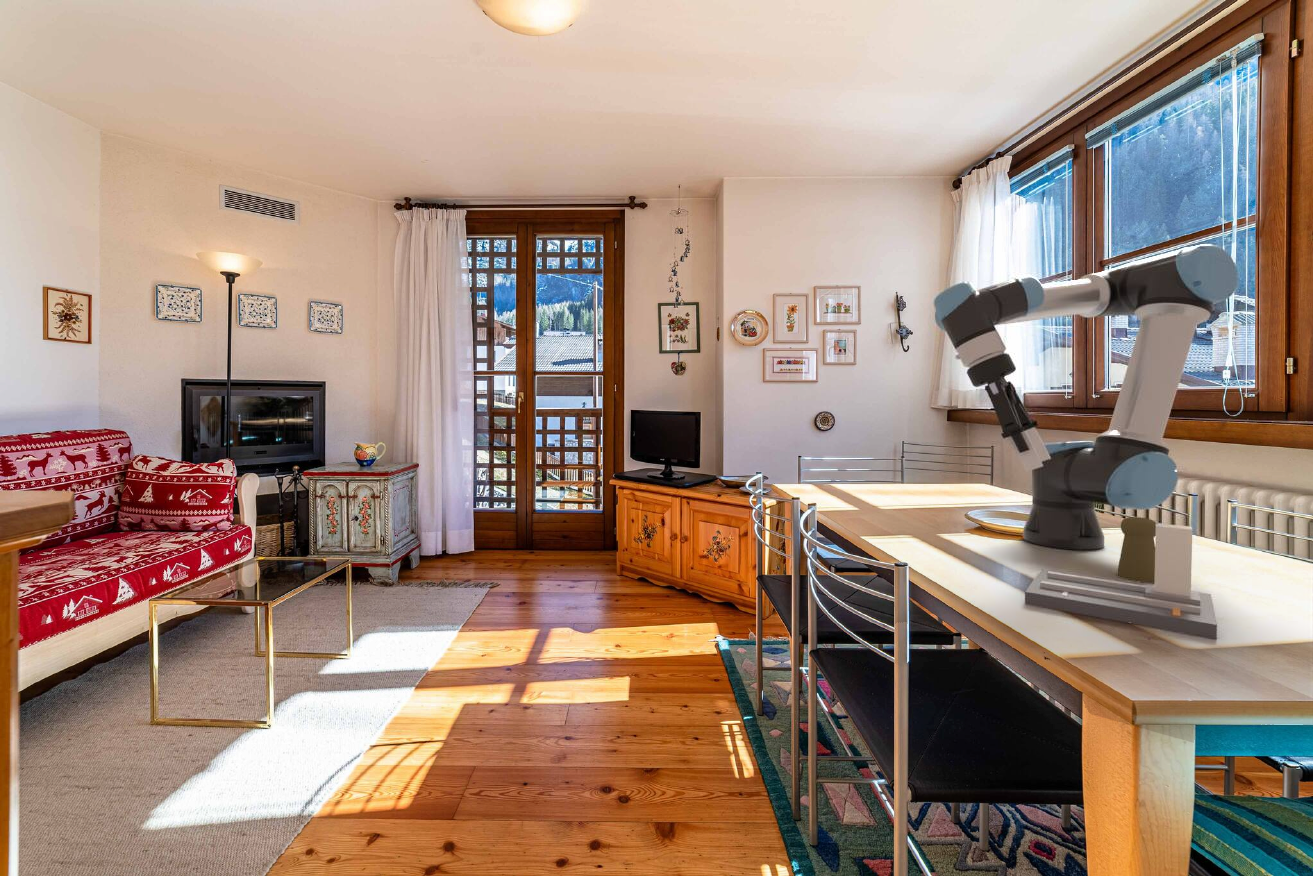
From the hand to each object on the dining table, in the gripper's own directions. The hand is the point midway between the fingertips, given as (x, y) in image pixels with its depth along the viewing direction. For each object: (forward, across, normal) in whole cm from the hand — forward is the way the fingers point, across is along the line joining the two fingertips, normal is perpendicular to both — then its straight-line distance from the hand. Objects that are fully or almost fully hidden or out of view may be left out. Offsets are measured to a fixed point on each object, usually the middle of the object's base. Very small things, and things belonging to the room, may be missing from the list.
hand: (1038, 465), depth 102 cm
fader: (+24, +9, +9) cm, 27 cm away
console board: (+24, +9, +2) cm, 25 cm away
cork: (+25, -11, +4) cm, 28 cm away
